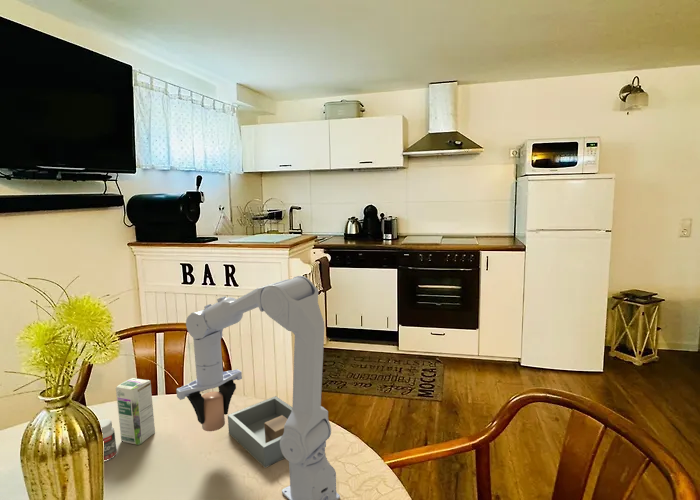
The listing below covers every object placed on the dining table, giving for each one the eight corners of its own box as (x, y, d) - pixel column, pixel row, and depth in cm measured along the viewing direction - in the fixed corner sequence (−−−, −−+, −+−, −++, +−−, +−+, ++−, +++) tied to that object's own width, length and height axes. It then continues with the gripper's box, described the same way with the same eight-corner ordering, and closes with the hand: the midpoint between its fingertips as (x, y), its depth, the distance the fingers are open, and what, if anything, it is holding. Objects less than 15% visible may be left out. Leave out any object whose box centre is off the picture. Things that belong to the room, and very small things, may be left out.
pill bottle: (106, 464, 97) (102, 430, 96) (88, 461, 98) (84, 428, 97) (121, 451, 102) (117, 418, 100) (104, 449, 102) (100, 417, 101)
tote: (315, 442, 104) (315, 423, 103) (264, 467, 95) (263, 447, 94) (276, 413, 117) (275, 396, 116) (228, 433, 108) (227, 414, 107)
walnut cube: (294, 442, 103) (293, 423, 102) (276, 451, 99) (275, 431, 99) (283, 433, 106) (282, 415, 106) (265, 441, 103) (264, 422, 102)
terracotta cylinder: (228, 425, 98) (226, 397, 97) (207, 434, 95) (205, 404, 94) (219, 416, 102) (217, 389, 101) (198, 424, 99) (196, 396, 98)
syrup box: (120, 442, 105) (113, 387, 103) (138, 429, 111) (132, 376, 108) (139, 445, 103) (133, 389, 101) (156, 432, 109) (151, 379, 107)
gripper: (230, 347, 104) (234, 399, 106) (169, 365, 94) (174, 422, 96) (244, 356, 98) (248, 410, 101) (181, 375, 89) (186, 435, 91)
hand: (213, 417), depth 98 cm, fingers closed on terracotta cylinder, 5 cm apart
